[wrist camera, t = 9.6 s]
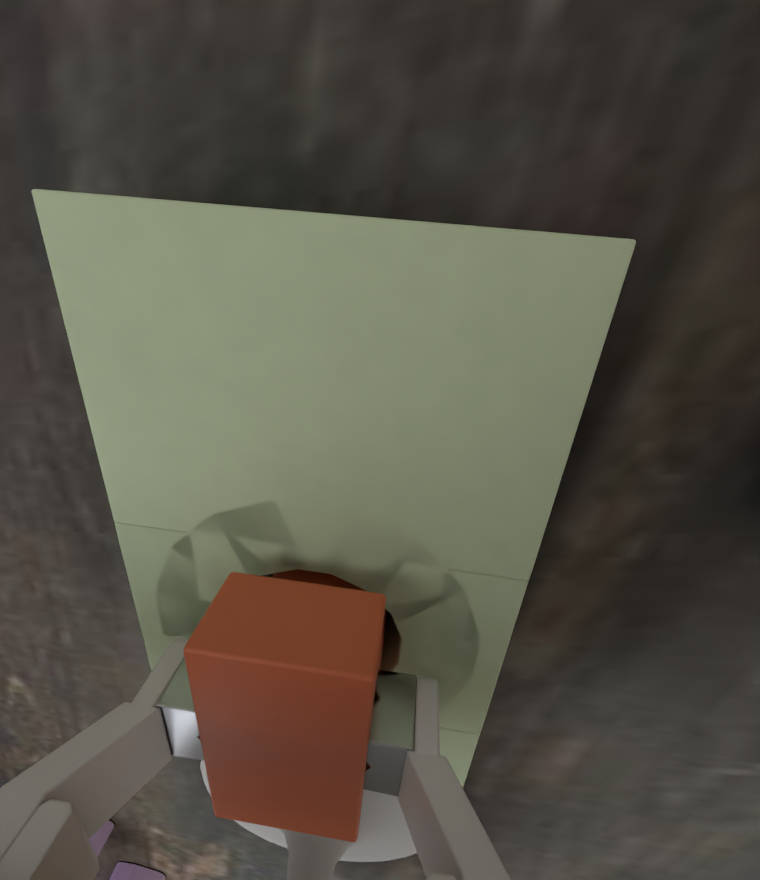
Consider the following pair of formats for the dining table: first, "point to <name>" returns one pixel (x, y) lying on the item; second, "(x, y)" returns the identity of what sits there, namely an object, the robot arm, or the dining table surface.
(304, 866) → the chalice
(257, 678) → the pad piece
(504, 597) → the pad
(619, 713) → the dining table surface
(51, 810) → the robot arm
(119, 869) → the clip
